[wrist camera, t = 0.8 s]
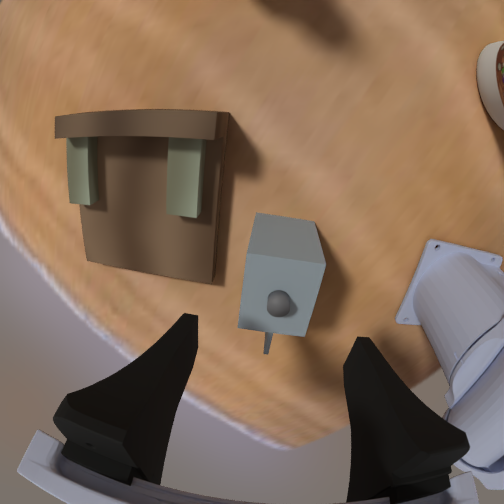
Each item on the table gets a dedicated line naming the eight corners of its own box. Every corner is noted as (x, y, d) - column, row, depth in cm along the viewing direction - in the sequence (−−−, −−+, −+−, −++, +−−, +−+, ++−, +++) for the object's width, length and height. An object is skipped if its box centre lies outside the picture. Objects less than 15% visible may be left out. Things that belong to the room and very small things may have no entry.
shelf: (229, 112, 17) (216, 112, 13) (215, 275, 22) (203, 304, 19) (86, 112, 17) (55, 116, 14) (94, 254, 23) (70, 275, 19)
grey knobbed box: (314, 221, 20) (328, 272, 14) (294, 306, 23) (296, 371, 17) (256, 212, 20) (245, 260, 14) (244, 299, 23) (232, 363, 17)
